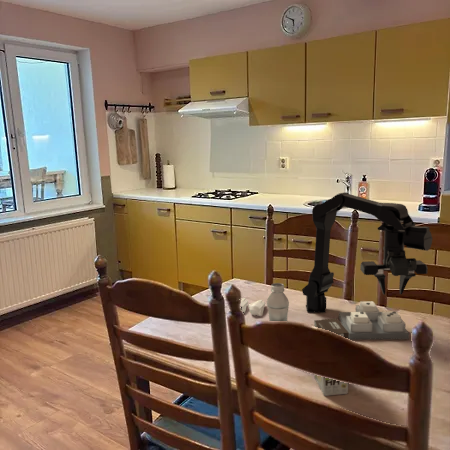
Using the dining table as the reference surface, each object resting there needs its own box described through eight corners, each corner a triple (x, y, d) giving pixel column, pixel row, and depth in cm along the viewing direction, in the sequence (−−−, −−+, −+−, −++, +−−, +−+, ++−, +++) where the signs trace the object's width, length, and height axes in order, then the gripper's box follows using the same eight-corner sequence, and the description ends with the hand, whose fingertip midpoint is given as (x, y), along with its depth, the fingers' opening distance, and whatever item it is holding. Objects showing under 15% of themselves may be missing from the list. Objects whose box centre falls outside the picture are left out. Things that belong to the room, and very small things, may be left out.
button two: (353, 326, 136) (353, 316, 136) (350, 320, 140) (350, 311, 140) (367, 326, 136) (368, 316, 135) (364, 320, 140) (364, 311, 140)
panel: (349, 339, 135) (349, 326, 134) (338, 317, 151) (338, 305, 150) (408, 339, 133) (409, 325, 132) (391, 317, 150) (392, 304, 149)
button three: (386, 326, 135) (386, 316, 135) (382, 320, 140) (382, 311, 139) (400, 326, 135) (401, 316, 134) (396, 320, 139) (396, 310, 139)
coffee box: (349, 394, 106) (350, 333, 103) (323, 396, 106) (324, 335, 103) (336, 374, 115) (337, 317, 112) (313, 376, 115) (313, 319, 112)
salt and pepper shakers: (259, 318, 154) (272, 308, 163) (259, 307, 153) (272, 298, 162) (230, 313, 160) (244, 303, 169) (230, 302, 159) (244, 293, 168)
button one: (362, 314, 145) (363, 305, 144) (359, 309, 149) (359, 301, 148) (376, 314, 144) (376, 305, 144) (372, 309, 149) (373, 300, 148)
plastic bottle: (284, 355, 126) (283, 290, 123) (263, 350, 130) (262, 286, 126) (293, 346, 132) (292, 283, 128) (273, 341, 135) (272, 280, 132)
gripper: (369, 252, 125) (368, 304, 128) (436, 251, 124) (433, 303, 127) (360, 243, 136) (359, 291, 139) (421, 242, 135) (419, 290, 138)
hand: (392, 294), depth 136 cm, fingers open, 5 cm apart
